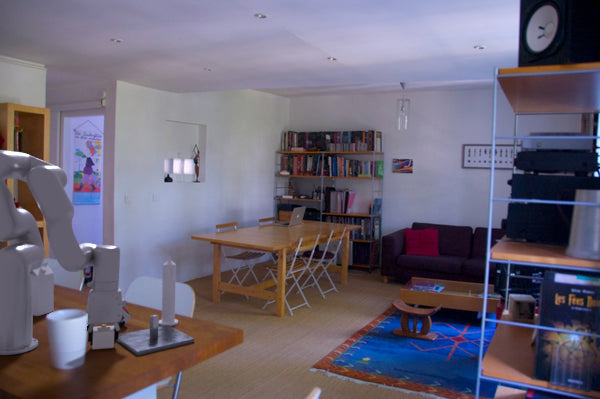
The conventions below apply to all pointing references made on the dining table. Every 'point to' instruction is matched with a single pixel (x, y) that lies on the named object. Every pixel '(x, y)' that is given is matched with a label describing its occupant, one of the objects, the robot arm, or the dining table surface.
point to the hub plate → (153, 338)
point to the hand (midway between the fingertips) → (103, 342)
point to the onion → (125, 311)
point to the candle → (168, 294)
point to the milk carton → (42, 289)
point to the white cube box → (103, 337)
